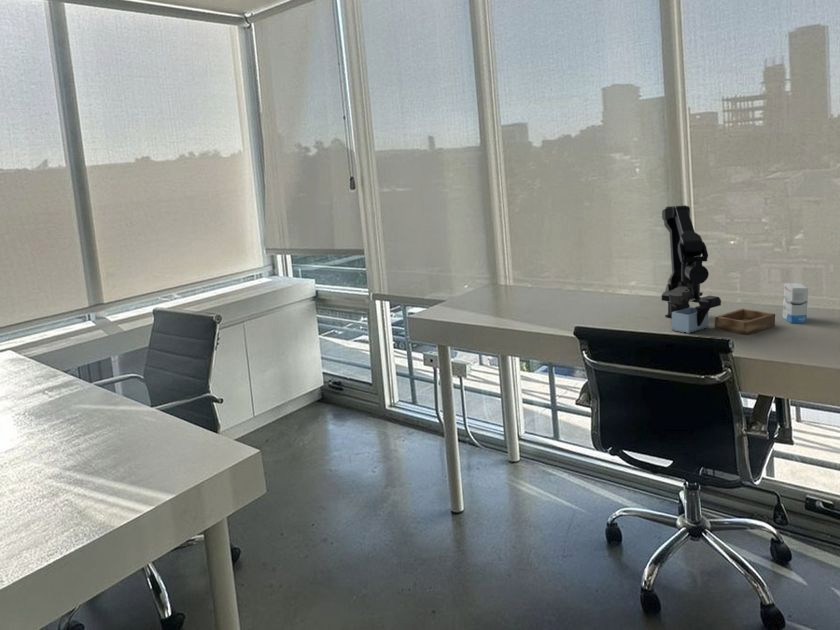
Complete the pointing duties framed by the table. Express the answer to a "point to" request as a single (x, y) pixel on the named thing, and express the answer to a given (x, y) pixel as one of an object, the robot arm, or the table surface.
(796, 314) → the ink box
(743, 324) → the walnut crate
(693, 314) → the blue crate
